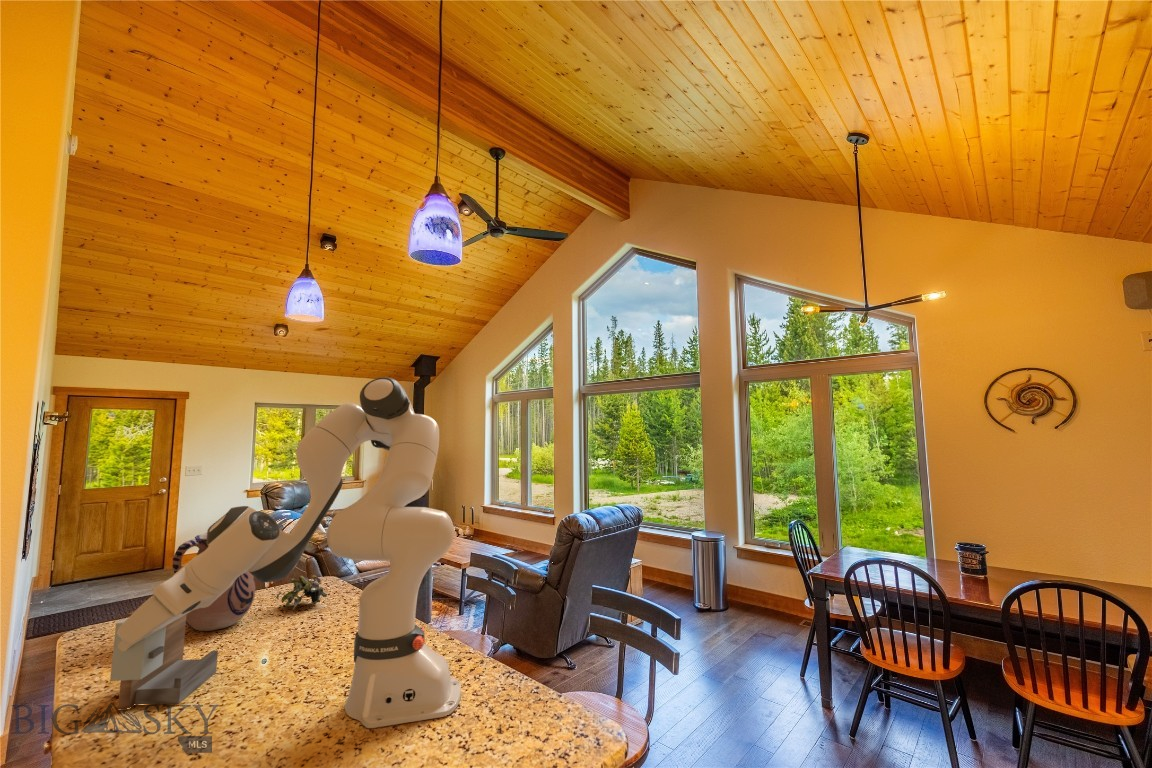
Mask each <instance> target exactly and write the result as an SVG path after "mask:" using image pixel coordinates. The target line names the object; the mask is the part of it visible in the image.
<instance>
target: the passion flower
mask: <svg viewBox="0 0 1152 768" xmlns="http://www.w3.org/2000/svg"><path fill="white" fill-rule="evenodd" d="M309 577H310V578H312V579H311V580H310V578H308V577H304V576H303V575H299V577H298V578H297V579H298V580H296V579H294V578H291V579H290V581H291V583H292V584H293V585H294V586H293V588H292V590H291V591H288V592H287V593H286V594H284V593H282V592H281V591H278V593H277V595H276V599H279V596H280V595H281V596H282V597H281V600H280V601H281V603H284V602H285V601H286V603H285V606H286V607H287V606H288V605H290V604H291V603H292V602H293V601H294V602H293V608H292V610H291V612H294V610H295V609H296V607H297V606H298V605H299V603H301V602H302V600H303V598H304V597H306V598H310V599H311V603H313V604H317V603H320V602H321V600H320V596H322V597H323V598H326V597H328V594H327V593H325V590H324V587H323V586H320V585H321V583H322V579H321V578H319V576H316V575H314V574H311V575H310V576H309ZM301 591H303V593H302V594H301V595H300V596H299V595H298V594H299V593H300V592H301Z"/></svg>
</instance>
